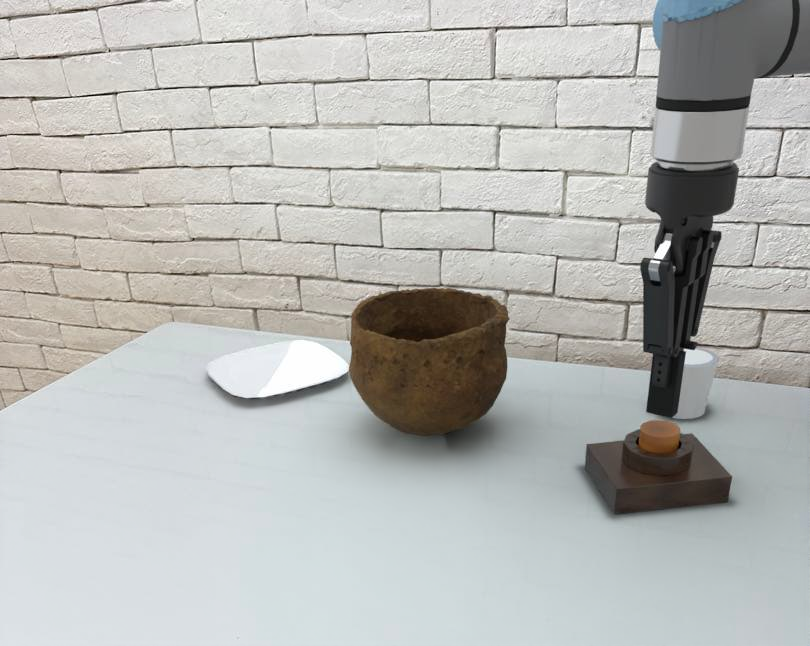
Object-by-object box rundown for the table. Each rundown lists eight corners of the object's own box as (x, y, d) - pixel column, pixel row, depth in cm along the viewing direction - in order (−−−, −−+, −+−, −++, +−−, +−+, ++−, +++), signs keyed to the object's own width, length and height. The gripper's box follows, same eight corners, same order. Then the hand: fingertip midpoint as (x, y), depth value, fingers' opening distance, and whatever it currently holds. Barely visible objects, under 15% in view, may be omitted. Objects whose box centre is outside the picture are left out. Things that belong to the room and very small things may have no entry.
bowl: (540, 434, 102) (545, 312, 94) (405, 479, 95) (398, 351, 86) (454, 384, 116) (451, 274, 108) (330, 420, 108) (317, 304, 100)
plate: (241, 414, 111) (239, 402, 110) (196, 371, 124) (194, 360, 123) (363, 381, 118) (362, 370, 117) (309, 344, 132) (308, 333, 131)
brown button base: (688, 457, 96) (694, 416, 93) (727, 502, 87) (735, 458, 85) (584, 468, 95) (587, 427, 92) (613, 514, 86) (618, 471, 84)
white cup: (722, 410, 105) (731, 356, 101) (684, 426, 102) (692, 371, 98) (678, 393, 110) (685, 341, 106) (640, 408, 107) (647, 354, 103)
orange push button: (669, 435, 90) (671, 418, 89) (684, 453, 87) (686, 435, 86) (632, 439, 90) (634, 422, 89) (646, 457, 87) (648, 438, 86)
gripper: (682, 146, 80) (654, 383, 93) (619, 171, 71) (597, 427, 84) (764, 152, 76) (722, 398, 89) (707, 179, 67) (670, 446, 80)
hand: (661, 412), depth 86 cm, fingers closed
